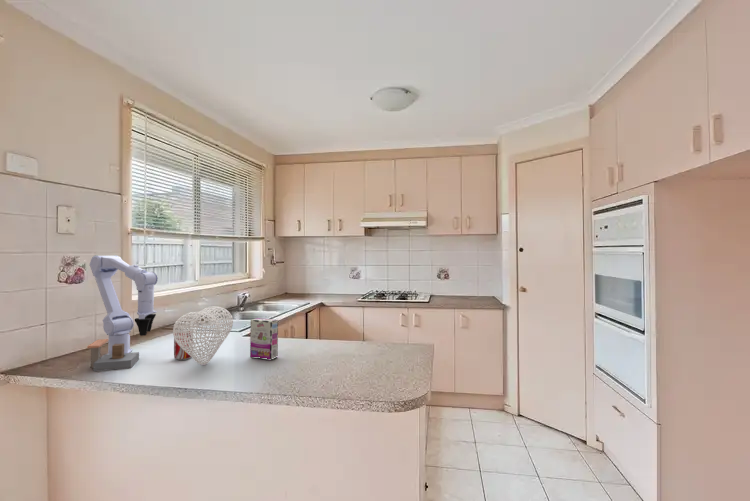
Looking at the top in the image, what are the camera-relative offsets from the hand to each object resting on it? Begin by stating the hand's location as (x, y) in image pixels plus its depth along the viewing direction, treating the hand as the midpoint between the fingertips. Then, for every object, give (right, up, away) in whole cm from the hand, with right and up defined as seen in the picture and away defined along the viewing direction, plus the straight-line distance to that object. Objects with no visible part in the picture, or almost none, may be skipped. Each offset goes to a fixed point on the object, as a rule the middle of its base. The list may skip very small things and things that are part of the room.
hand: (145, 333), depth 155 cm
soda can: (+16, -11, +1) cm, 19 cm away
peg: (-5, -10, -9) cm, 15 cm away
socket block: (-6, -10, -10) cm, 16 cm away
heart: (+28, -11, -8) cm, 31 cm away
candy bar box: (+49, -11, +3) cm, 50 cm away
